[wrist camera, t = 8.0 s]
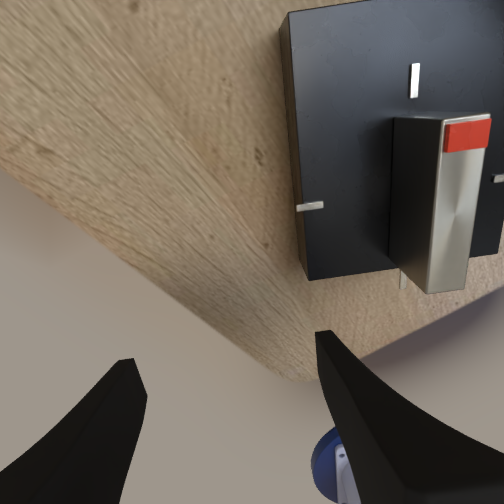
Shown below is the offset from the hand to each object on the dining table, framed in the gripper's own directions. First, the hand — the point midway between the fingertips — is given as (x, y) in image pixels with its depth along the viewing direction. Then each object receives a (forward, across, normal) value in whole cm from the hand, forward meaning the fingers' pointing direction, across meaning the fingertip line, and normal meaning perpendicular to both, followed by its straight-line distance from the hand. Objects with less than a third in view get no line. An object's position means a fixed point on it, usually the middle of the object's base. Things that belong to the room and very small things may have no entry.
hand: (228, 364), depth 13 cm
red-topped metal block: (+6, -10, -4) cm, 12 cm away
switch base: (+9, -10, -6) cm, 15 cm away
